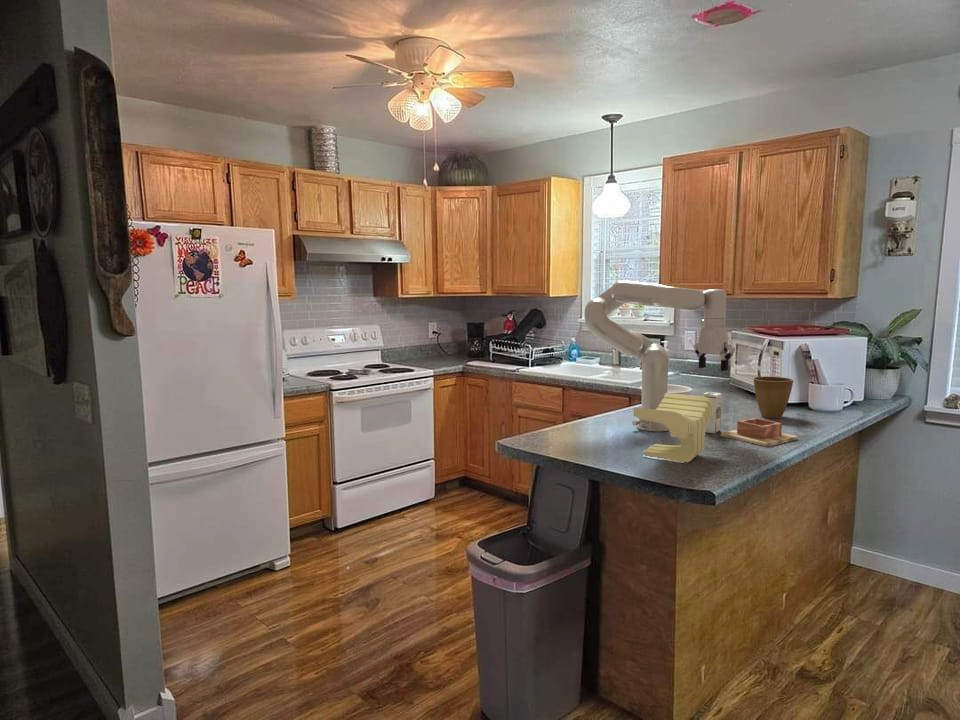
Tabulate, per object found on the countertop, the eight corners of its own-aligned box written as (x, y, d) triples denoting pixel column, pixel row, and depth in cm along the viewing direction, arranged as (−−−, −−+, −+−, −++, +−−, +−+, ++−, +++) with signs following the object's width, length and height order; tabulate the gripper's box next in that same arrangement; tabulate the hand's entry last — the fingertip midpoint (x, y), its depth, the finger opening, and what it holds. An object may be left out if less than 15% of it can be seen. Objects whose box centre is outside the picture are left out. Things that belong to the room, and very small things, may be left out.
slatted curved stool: (684, 472, 178) (686, 413, 176) (632, 464, 187) (633, 407, 185) (711, 449, 202) (713, 397, 200) (664, 443, 211) (665, 392, 209)
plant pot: (799, 417, 249) (801, 379, 247) (776, 422, 242) (778, 382, 240) (766, 411, 262) (768, 374, 260) (743, 415, 254) (745, 377, 253)
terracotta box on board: (766, 446, 205) (767, 430, 204) (721, 436, 220) (721, 420, 219) (797, 439, 214) (798, 423, 213) (752, 429, 229) (752, 414, 229)
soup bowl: (628, 401, 288) (628, 387, 287) (657, 395, 303) (658, 382, 302) (673, 409, 269) (673, 394, 268) (702, 402, 285) (702, 388, 284)
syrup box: (705, 428, 232) (706, 391, 230) (720, 430, 228) (722, 392, 226) (699, 431, 227) (701, 393, 226) (715, 433, 224) (717, 395, 222)
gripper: (688, 322, 228) (687, 367, 230) (728, 324, 214) (726, 372, 216) (701, 321, 232) (700, 366, 234) (741, 323, 217) (739, 370, 219)
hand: (713, 369), depth 225 cm, fingers open, 9 cm apart
